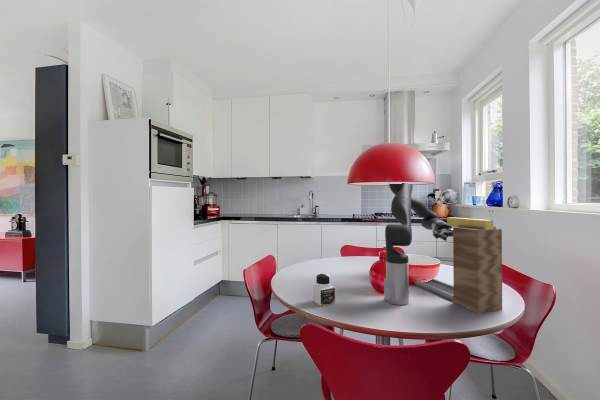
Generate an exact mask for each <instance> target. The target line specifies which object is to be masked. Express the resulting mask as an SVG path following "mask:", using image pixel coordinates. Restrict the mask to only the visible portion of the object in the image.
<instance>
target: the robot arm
mask: <svg viewBox="0 0 600 400" xmlns="http://www.w3.org/2000/svg"><path fill="white" fill-rule="evenodd" d="M388 186H389V189H390V191H391V192H392V194H393V195H394V196H393V199H392V200H391V203H390V204H391V205H390V211H391V214H392V216H393V217H394V218H395V219H396V220H397V221H398V223H400V224H391V223H390V224H389V223H388V224H387V225H386V226H385V228H384V229H385V230H384V237H385V238H384V239H385V278H384V279H383V282H384V283H383V287H384V288H383V291H384V292H383V295H384V296H383V297H384V301H386V302H387V303H389V304H391V305H397V306H398V305H399V306H400V305H402V306H403V305H408V304H409V303H410V300H409V299H410V288H409V287H410V285H409V284H410V281H409V280H410V279H409V271H410V270H409V256H408V255H407V254H406V253H404V252H401V251H399V250H397V249H396V248H395V247H408V246H411V243H412V239H413V236H412V235H413V232H412V231H413V230H412V221H411V220H412V211H413V212H414V213H415V214H416V215H417V217H419V218H421V220H420V225H421V226H422V227H423V228H424V229H426V230H429V231H432V237H434V238H435V239H437V240H438V239H440V240H443V241H447V239H448V238H449V237H450V238H451V237H452V238H453V226H448V225H447V221H446V222H445V221H443V220H442V219H441V217H440V215H439V214H438V213H436V212H434V211H432V210H431V209H430V208H428V206H427V205H426V204H425V202H423V201H422V200H421V199H419V198H416V197H412V193H413V188H414V185H413V184H408V183H402V184H389V183H388Z"/></svg>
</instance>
